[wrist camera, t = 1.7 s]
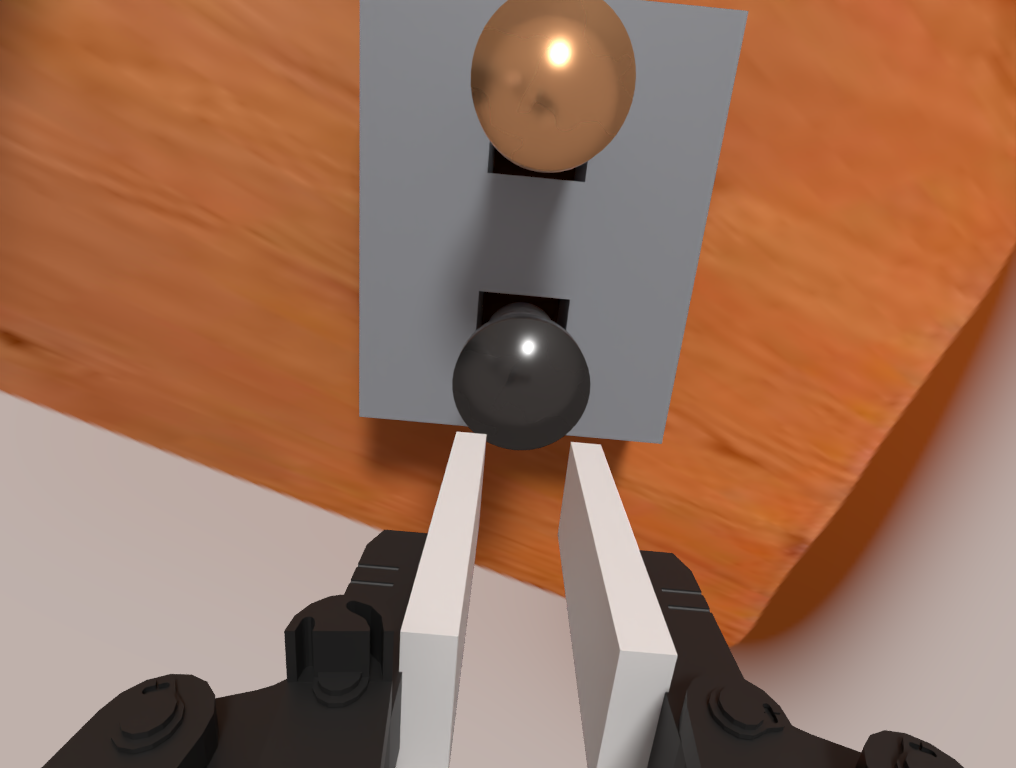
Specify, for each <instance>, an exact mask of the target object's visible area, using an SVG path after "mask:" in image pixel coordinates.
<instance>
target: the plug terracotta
mask: <svg viewBox="0 0 1016 768" xmlns="http://www.w3.org/2000/svg"><path fill="white" fill-rule="evenodd" d="M635 82H636V64H635V57H634V51H633V48H632V44H631V40H630V38H629V35H628V33H627V31H626V29H625V27H624V25H623V23H622V22H621V20H620V18H619V17H618V16H617V14H616V13H615V12H614V10H613V9H612V8H611V7H610V6H609V5H608V4H607V3H606V2H605V1H603V0H507V1H506V2H505V3H504V4H503V5H501V6H500V7H499V8H498V10H497V11H496V12H495V13H494V14H493V15H492V16H491V18H490V19H489V21H488V22H487V24H486V25H485V27H484V29H483V31H482V33H481V35H480V37H479V39H478V42H477V45H476V48H475V51H474V55H473V59H472V66H471V93H472V99H473V104H474V108H475V111H476V114H477V116H478V119H479V122H480V124H481V126H482V128H483V130H484V132H485V134H486V136H487V138H488V139H489V140H490V142H491V143H492V145H493V146H494V147H495V148H496V149H497V150H498V152H500V153H501V154H502V155H503V156H504V157H505V158H507V159H508V160H510V161H511V162H513V163H514V164H516V165H518V166H520V167H522V168H525V169H528V170H531V171H536V172H542V173H555V172H562V171H566V170H570V169H573V168H575V167H578V166H580V165H582V164H584V163H585V162H587V161H589V160H590V159H592V158H593V157H594V156H595V155H597V154H598V153H599V152H601V151H602V150H603V149H604V148H605V147H606V146H607V145H608V144H609V143H610V142H611V141H612V140H613V138H614V137H615V136H616V135H617V133H618V132H619V130H620V128H621V127H622V125H623V124H624V121H625V119H626V117H627V115H628V113H629V110H630V107H631V104H632V101H633V96H634V91H635Z"/></svg>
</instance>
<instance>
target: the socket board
mask: <svg viewBox="0 0 1016 768" xmlns="http://www.w3.org/2000/svg"><path fill="white" fill-rule="evenodd" d="M506 1H507V0H360V333H359V416H360V417H371V418H382V419H393V420H404V421H415V422H426V423H437V424H449V425H460V426H467V425H466V423H465V422H464V421H463V419H462V417H461V416H460V414H459V412H458V410H457V407H456V405H455V401H454V397H453V391H452V379H453V372H454V368H455V365H456V362H457V360H458V357H459V355H460V353H461V350H462V348H463V346H464V345H465V343H466V341H467V340H468V339H469V338H470V336H471V335H472V334H473V333H474V332H475V331H476V330H477V329H479V328H480V327H481V326H482V315H483V302H484V292H495V293H505V294H516V295H527V296H537V297H548V298H559V299H560V300H559V308H558V316H557V324H558V325H560V326H561V327H562V328H564V329H565V330H566V331H567V332H568V333H569V334H570V335H571V336H572V337H573V338H574V340H575V341H576V343H577V344H578V346H579V348H580V350H581V352H582V354H583V356H584V358H585V360H586V363H587V366H588V369H589V374H590V395H589V399H588V403H587V406H586V409H585V411H584V413H583V415H582V417H581V418H580V420H579V421H578V423H577V424H576V425H575V426H574V427H573V428H572V430H571V431H569V432H568V433H567V434H566V435H570V436H581V437H592V438H603V439H615V440H626V441H637V442H648V443H659V444H662V439H663V434H664V429H665V424H666V419H667V414H668V409H669V404H670V399H671V394H672V389H673V384H674V379H675V374H676V369H677V364H678V359H679V354H680V349H681V345H682V340H683V335H684V330H685V325H686V320H687V315H688V310H689V305H690V300H691V295H692V290H693V285H694V280H695V275H696V270H697V265H698V260H699V255H700V250H701V245H702V240H703V235H704V230H705V225H706V220H707V215H708V210H709V205H710V200H711V195H712V190H713V185H714V180H715V175H716V170H717V165H718V160H719V155H720V150H721V145H722V140H723V135H724V130H725V125H726V120H727V115H728V110H729V105H730V100H731V95H732V90H733V85H734V80H735V75H736V70H737V65H738V60H739V55H740V50H741V45H742V40H743V35H744V30H745V25H746V20H747V15H748V11H742V10H732V9H722V8H712V7H702V6H692V5H682V4H672V3H662V2H653V1H643V0H603V1H605V2H606V3H607V4H608V5H609V6H610V7H611V8H612V9H613V10H614V12H615V13H616V14H617V16H618V17H619V18H620V20H621V22H622V23H623V25H624V27H625V29H626V31H627V33H628V35H629V38H630V40H631V44H632V48H633V51H634V57H635V64H636V82H635V91H634V96H633V101H632V104H631V107H630V110H629V113H628V115H627V117H626V119H625V121H624V124H623V125H622V127H621V128H620V130H619V132H618V133H617V135H616V136H615V137H614V138H613V140H612V141H611V142H610V143H609V144H608V145H607V146H606V147H605V148H604V149H603V150H602V151H601V152H599V153H598V154H597V155H595V156H594V157H593V158H592V159H590V160H589V161H587V162H585V163H584V164H582V165H580V166H578V167H576V168H575V176H574V181H568V180H558V179H547V178H537V177H526V176H516V175H506V174H495V173H493V170H494V157H495V147H494V146H493V145H492V143H491V142H490V140H489V139H488V138H487V136H486V134H485V132H484V130H483V128H482V126H481V124H480V122H479V119H478V116H477V114H476V111H475V108H474V104H473V99H472V93H471V66H472V59H473V55H474V51H475V48H476V45H477V42H478V39H479V37H480V35H481V33H482V31H483V29H484V27H485V25H486V24H487V22H488V21H489V19H490V18H491V16H492V15H493V14H494V13H495V12H496V11H497V10H498V8H499V7H500V6H501V5H503V4H504V3H505V2H506Z"/></svg>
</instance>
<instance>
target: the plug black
mask: <svg viewBox="0 0 1016 768" xmlns="http://www.w3.org/2000/svg"><path fill="white" fill-rule="evenodd" d="M452 391H453V397H454V401H455V405H456V407H457V410H458V412H459V414H460V416H461V417H462V419H463V421H464V422H465V423H466V425H467V426H468V427H469V428H470V429H471V430H472V431H473V432H474V433H478V434H487V436H486V441H487V442H489V443H491V444H493V445H496V446H498V447H502V448H506V449H512V450H531V449H536V448H541V447H544V446H547V445H549V444H551V443H553V442H556V441H557V440H559V439H560V438H562V437H564V436H565V435H566V434H567V433H568V432H569V431H571V430H572V428H573V427H574V426H575V425H576V424H577V423H578V421H579V420H580V418H581V417H582V415H583V413H584V411H585V409H586V406H587V403H588V399H589V395H590V374H589V369H588V366H587V363H586V360H585V358H584V356H583V354H582V352H581V350H580V348H579V346H578V344H577V343H576V341H575V340H574V338H573V337H572V336H571V335H570V334H569V333H568V332H567V331H566V330H565V329H564V328H562V327H561V326H560V325H558V324H557V323H555V322H553V321H551V320H550V318H549V316H548V315H547V314H546V313H545V312H544V311H543V310H542V309H541V308H539V307H537V306H535V305H533V304H530V303H526V302H514V303H510V304H507V305H505V306H503V307H501V308H500V309H498V310H497V311H496V312H495V313H494V314H493V315H492V317H491V318H490V320H489V322H487V323H486V324H484V325H483V326H481V327H480V328H479V329H477V330H476V331H475V332H474V333H473V334H472V335H471V336H470V338H469V339H468V340H467V341H466V343H465V345H464V346H463V348H462V350H461V353H460V355H459V357H458V360H457V362H456V365H455V368H454V372H453V379H452Z"/></svg>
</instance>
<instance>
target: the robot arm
mask: <svg viewBox="0 0 1016 768" xmlns="http://www.w3.org/2000/svg"><path fill="white" fill-rule="evenodd" d="M486 436H487V434H478V433H467V432H456V435H455V439H454V443H453V446H452V450H451V453H450V457H449V460H448V464H447V467H446V471H445V475H444V478H443V482H442V485H441V489H440V492H439V496H438V499H437V503H436V507H435V510H434V514H433V517H432V521H431V524H430V528H429V531H428V533H416V532H405V531H394V530H384V531H383V532H381V533H380V534H379V535H378V536H377V537H375V538H374V539H373V540H372V541H371V542H369V543H368V544H367V546H366V548H365V550H364V552H363V554H362V557H361V559H360V561H359V563H358V567H357V568H356V570H355V572H354V574H353V576H352V578H351V583H350V584H349V585H348V587H347V589H346V592H345V594H344V595H336V596H330V597H327V598H324V599H322V600H319V601H317V602H314V603H311V604H310V605H309V606H307V607H306V608H305V609H303V610H302V611H300V612H299V613H298V614H296V615H295V616H294V618H293V619H292V621H291V622H290V624H289V625H288V626H287V628H286V629H285V631H284V633H285V650H286V668H287V679H286V680H284V681H282V682H280V683H277V684H275V685H273V686H270V687H266V688H263V689H259V690H255V691H250V692H245V693H241V694H235V695H230V696H225V697H221V698H215V694H214V693H213V691H212V689H211V688H210V686H209V684H208V683H207V682H206V681H204V680H202V679H200V678H198V677H195V676H193V675H184V674H169V675H165V676H161V677H158V678H154V679H149V680H146V681H144V682H142V683H140V684H138V685H136V686H134V687H132V688H130V689H128V690H126V691H124V692H122V693H120V694H119V695H118V696H117V697H115V698H114V699H113V700H112V701H110V702H109V703H108V704H107V705H106V706H104V707H103V708H102V709H100V710H99V711H98V712H97V713H96V714H95V715H94V716H93V717H92V718H91V719H90V720H89V721H88V722H87V723H86V724H85V725H84V726H83V727H82V728H81V729H80V730H79V731H78V732H77V733H76V734H75V735H74V736H73V737H72V738H71V739H70V740H69V741H68V742H67V743H66V744H65V745H64V746H63V747H62V748H61V749H60V750H59V751H58V752H57V753H56V754H55V755H54V756H53V757H52V758H51V759H50V760H49V761H48V762H47V763H46V764H45V765H44V766H43V767H42V768H395V767H396V768H449V763H450V755H451V748H452V740H453V732H454V723H455V716H456V708H457V698H458V691H459V683H460V675H461V667H462V659H463V651H464V643H465V635H466V626H467V619H468V610H469V602H470V594H471V586H472V578H473V569H474V562H475V554H476V546H477V538H478V530H479V519H480V507H481V495H482V483H483V471H484V459H485V447H486ZM558 539H559V547H560V555H561V563H562V571H563V579H564V587H565V594H566V602H567V610H568V618H569V626H570V634H571V642H572V649H573V657H574V665H575V673H576V680H577V689H578V697H579V704H580V712H581V720H582V728H583V736H584V743H585V751H586V759H587V767H588V768H964V767H963V766H961V765H960V764H959V763H958V762H957V761H956V760H955V759H953V758H951V757H950V756H948V755H947V754H945V753H944V752H942V751H941V750H939V749H937V748H936V747H934V746H933V745H931V744H930V743H928V742H925V741H923V740H920V739H918V738H915V737H913V736H911V735H908V734H905V733H899V732H892V731H881V732H879V733H875V734H872V735H870V736H869V738H868V740H867V742H866V744H865V745H864V747H863V750H862V752H858V751H855V750H852V749H850V748H847V747H844V746H842V745H839V744H836V743H833V742H831V741H828V740H825V739H822V738H819V737H817V736H814V735H811V734H809V733H807V732H805V731H802V730H800V729H798V728H796V727H794V726H792V725H791V723H790V722H789V720H788V718H787V717H786V715H785V714H784V712H783V710H782V709H781V707H780V706H779V705H778V704H777V703H776V702H775V701H774V700H773V699H772V698H771V697H770V696H769V695H768V694H767V693H765V692H764V691H763V690H762V689H760V688H758V687H757V686H755V685H753V684H752V683H750V682H748V681H747V680H745V679H744V678H743V676H742V674H741V671H740V670H739V667H738V666H737V663H736V661H735V659H734V657H733V655H732V653H731V652H730V649H729V647H728V645H727V643H726V641H725V639H724V637H723V635H722V633H721V631H720V629H719V627H718V625H717V622H716V620H715V618H714V616H713V614H712V613H710V611H709V609H710V608H709V606H708V604H707V602H706V600H705V598H704V596H703V595H701V590H700V588H699V586H698V584H697V582H696V580H695V578H694V576H693V573H692V571H691V570H690V569H689V568H688V567H687V566H685V565H684V564H683V563H682V562H681V561H680V560H679V559H678V558H677V557H676V556H675V555H674V554H673V553H665V552H653V551H642V550H639V548H638V545H637V543H636V540H635V537H634V534H633V532H632V529H631V526H630V523H629V521H628V518H627V515H626V512H625V510H624V507H623V504H622V501H621V499H620V496H619V493H618V491H617V488H616V485H615V482H614V480H613V477H612V474H611V471H610V469H609V466H608V463H607V460H606V458H605V455H604V452H603V449H602V447H601V445H600V444H589V443H578V442H571V444H570V452H569V459H568V466H567V473H566V480H565V487H564V494H563V501H562V509H561V516H560V523H559V530H558Z"/></svg>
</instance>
